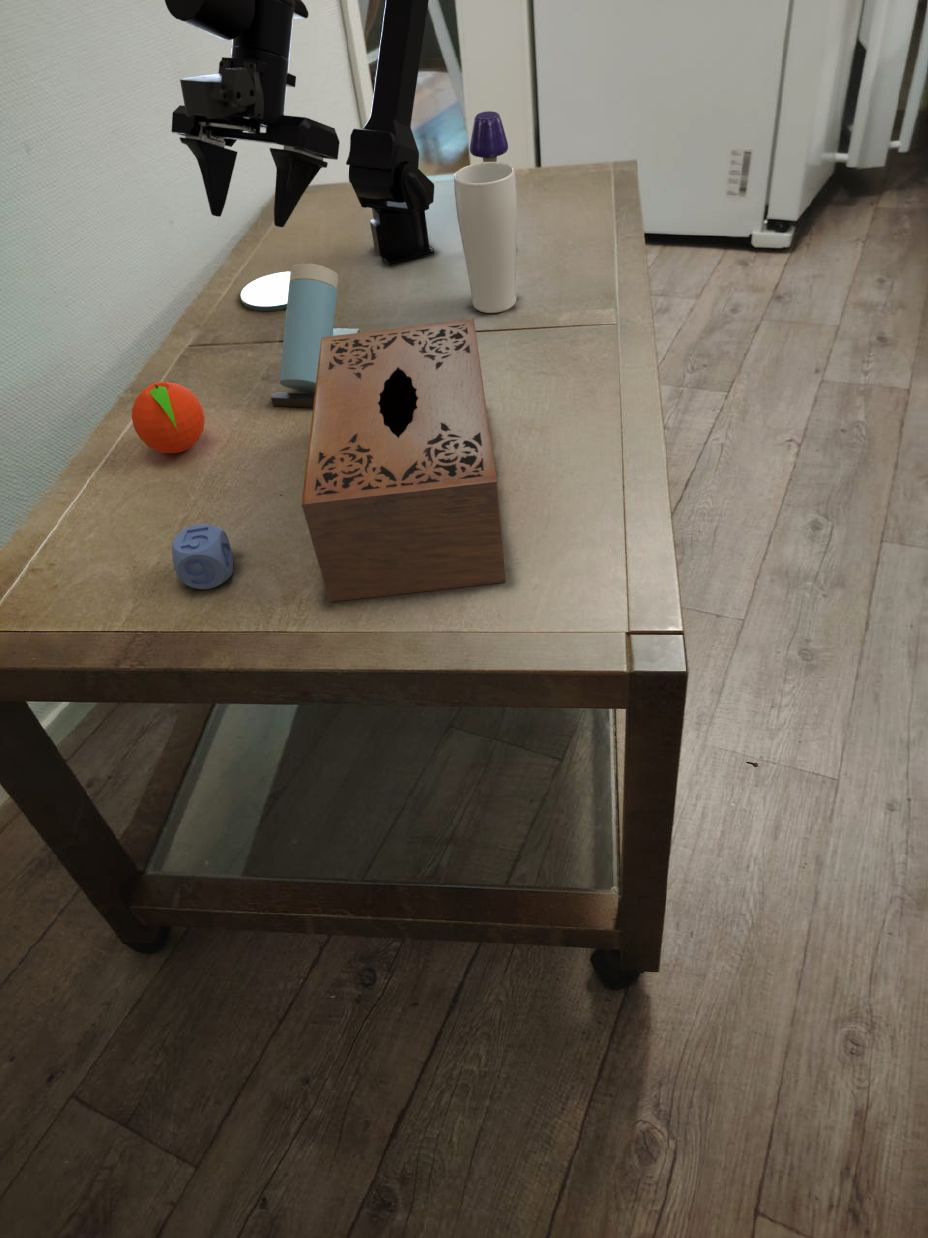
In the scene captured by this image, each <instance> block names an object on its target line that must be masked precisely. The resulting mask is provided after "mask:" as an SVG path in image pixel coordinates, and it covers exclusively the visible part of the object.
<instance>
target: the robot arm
mask: <svg viewBox="0 0 928 1238" xmlns="http://www.w3.org/2000/svg"><path fill="white" fill-rule="evenodd" d="M429 2H430V0H385V6H384V11H383V20H382V28H381V35H380V42H379V49H378V58H377V65H376V73H375V80H374V89H373V95H372V103H371V111H370V115H369V118H368V120H367V121H366V123H365V125H364V126H363V127H362V128H357V127H356V128H353V129H352V131H351V134H350V137H349V139H350V140H349V152H348V157H347V159H346V162H345V164H346V165H347V166H348V173H347V175H348V183H350V185H351V187H352V189H353V191H354V193H355V195H356V198H357V201H358V202H359V205H360V207H361V208H364V209H367V208H369V209H371V212H372V218H373V219H370V221H369V224H370V231H371V236H372V241H373V242H372V243H373V248H374V251H375V253H376V254H377V255H378V256H379V257H380V258H381V259H383V260H384V261H385V262H386V263H387V265H388V266H395V265H398V264H402V263H406V262H410V261H412V260H416V259H419V258H425V257H427V256H431V255H434V254H435V249H434V248H433V247H432V246H431V245H430V241H429V233H428V228H427V227H428V226H427V225H428V224H427V218H426V217H427V216H426V211H428V210H429V209H430V205H431V204H433V203H434V200H435V183H433V181H432V180H431V179H430V178H428V176H427V175H426V174H424V172H422V170H420V168H419V161H420V150H419V147H418V144H417V142H416V139H415V136H414V133H413V130H412V119H413V111H414V106H415V105H414V104H415V98H416V90H417V84H418V77H419V71H420V63H421V58H422V57H421V55H422V50H423V43H424V36H425V28H426V22H427V16H428V15H427V14H428V7H429ZM164 4H165V6H166V9H167V10H168V12H169V14H170V15H171V16H172V17H173V18H175V19H176V20H178V21H181V22H182V23H184V24H186V25H189V26H191V27H194V28H196V29H198V30H201V31H203V32H205V33H207V34H209V35H212V36H214V37H217V38H219V39H221V40H222V41H223V40H224V41H231V54H230V57H226V56H225V57H224V56H223V57H222V56H221V59H220V61H219V63H218V72H217V73H213V74H203V75H197V76H189V77H183V78H182V77H181V78H180V79H179V82H180V86H181V93H182V94H181V95H182V97H183V98H182V99H183V105H178V106H177V107H176V108H175V110H173V111H172V115H171V117H172V118H171V133H172V134H175V135H178V136H181V137H179V141H180V143H181V144H182V145H185V146H187V148H188V149H189V150H190V152H191V153H192V154H193V155H194V157H195V159H196V161H197V164H198V167H199V170H200V173H201V174H200V175H201V178H202V181H203V185H204V186H203V187H204V189H205V194H206V198H207V202H208V207H209V210H210V214H211V216H213V217H218V218H220V217H221V216H222V214H223V212H224V208H225V206H226V202H227V198H228V193H229V190H230V187H231V181H232V177H233V173H234V169H235V165H236V161H237V156H238V151H236V150H233V149H229V148H233V146H234V145H235V143H236V142H237V141H245V142H254V143H262V144H270V145H271V144H273V145H279V146H283V148H276V147H275V148H274V147H269V152H270V154H271V155H270V156H271V157H272V160H273V163H274V165H275V168H276V173H275V190H274V201H273V203H274V204H273V223H274V226H275V227H277V228H284V227H285V226H286V224H287V222H288V220H289V219H290V217H291V215H292V214H293V212H294V210H295V208H296V207H297V206H298V203H299V202H300V200H301V198H302V197H303V195H304V193H305V192H306V190H307V189H308V187H309V186H310V184H311V183H312V182H313V180H314V179H315V178H316V176H317V175H318V174H319V172H320V170H321V169H323V168H325V169H327V168H328V164H329V162H328V161H324V159H327V160H335V161H337V160H338V159H339V153H340V139H339V136H338V133H337V130H336V128H335V127H332V126H330V125H327V124H324V123H322V122H319V121H318V120H315V119H312V118H309V117H306V116H297V115H296V116H295V115H285V111H286V100H287V99H286V98H287V89H288V88H296V84H297V83H296V82H297V75H294V74H292V73H290V72H289V66H290V55H291V45H292V34H293V22H294V19H305V20H306V19H308V18H309V15H310V13H309V10H308V8H307V6H306V4H305V3H304V1H302V0H164ZM261 129H265V132H264V131H263V132H261ZM226 147H227V148H226Z"/></svg>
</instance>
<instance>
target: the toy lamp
mask: <svg viewBox="0 0 928 1238" xmlns="http://www.w3.org/2000/svg"><path fill="white" fill-rule="evenodd" d="M502 121H503V120H502V118H501V116H500V113H499V112H496V111H489V110H488V111H487V110H486V111H481V112H479V113H477V114H476V115H475V117H474V119H473V124H472V129H471V130H472V131H471V136H470V142H469V143H470V144H469V152H470V154H471V155H472V156H473V157H476V158H481V159H482V163H483V162H498V157H500V156H502V155H504V154H506V153H507V151H508V150H509V143H508V139H507V135H506V132H505V128H504V125H503V122H502Z"/></svg>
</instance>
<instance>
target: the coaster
mask: <svg viewBox="0 0 928 1238" xmlns="http://www.w3.org/2000/svg"><path fill="white" fill-rule="evenodd" d="M289 281H290V271H281V272H275V273H271V274H267V275H263V276H261V277H257V278H256V279H255V280H253V281H251V282H249V283H248V284H246V285H245V286H244V287H243V288H242V290H241V292H240V297H239V298H240V300H241V303H242V304H243V306H244V307H246V308H248V309H251V310H254V311H261V312H273V311H281V310H285V309H286V310H287V301H288V291H289Z"/></svg>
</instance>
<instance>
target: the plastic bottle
mask: <svg viewBox="0 0 928 1238" xmlns="http://www.w3.org/2000/svg"><path fill="white" fill-rule="evenodd" d="M289 272H290V281H289V291H288V301H287V308H286V310H285V323H284V330H283V331H284V333H283V341H282V351H281V361H280V362H281V363H280V371H279V380H278V381H279V384H280V385H281V386H283V387H285V388H287V389H290V390H293V391H298V392H303V393H315V387H316V379H317V370H318V362H319V354H320V345H321V337H329V336H333V328H335V316H336V305H337V296H338V286H339V274H338V273H337V272H336V271H335V270H333V269H331V268H329V267H327V266H323V265H319V264H315V263H297V264H294V265H292V266H291V267H290V271H289Z"/></svg>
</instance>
